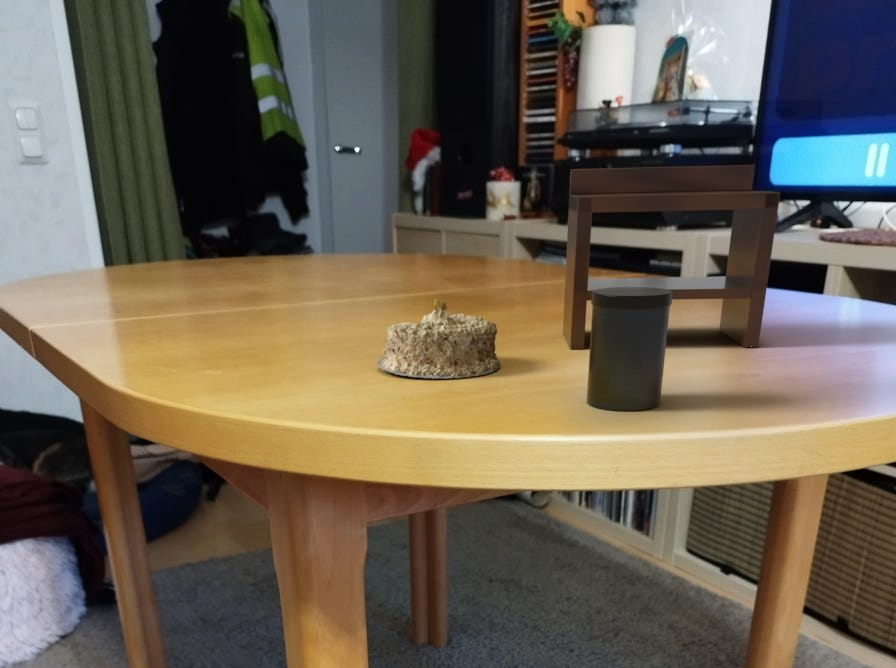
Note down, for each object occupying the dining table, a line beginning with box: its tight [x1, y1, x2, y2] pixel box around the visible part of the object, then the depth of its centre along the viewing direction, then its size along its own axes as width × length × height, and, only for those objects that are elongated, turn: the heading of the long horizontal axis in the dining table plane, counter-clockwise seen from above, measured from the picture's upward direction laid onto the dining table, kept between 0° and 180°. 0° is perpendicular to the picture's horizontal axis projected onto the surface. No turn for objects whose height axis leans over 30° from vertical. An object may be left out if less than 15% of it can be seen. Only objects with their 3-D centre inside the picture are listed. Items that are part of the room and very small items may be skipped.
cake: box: [376, 298, 502, 380], centre depth 73 cm, size 10×10×5 cm
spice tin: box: [586, 287, 673, 412], centre depth 60 cm, size 5×5×7 cm
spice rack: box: [562, 164, 781, 350], centre depth 81 cm, size 16×10×14 cm, turn 86°
